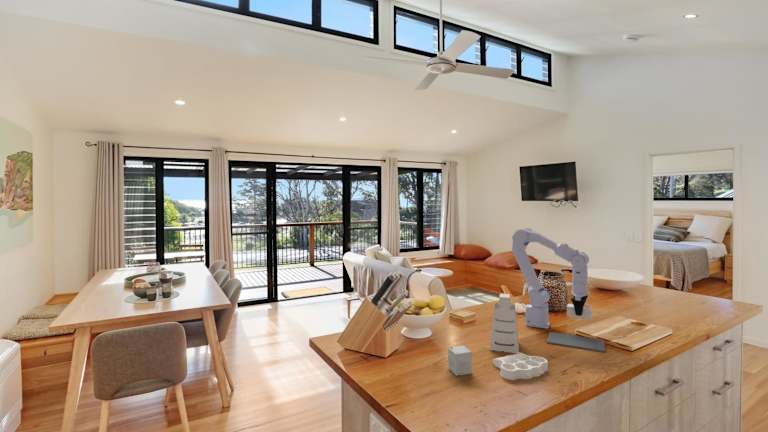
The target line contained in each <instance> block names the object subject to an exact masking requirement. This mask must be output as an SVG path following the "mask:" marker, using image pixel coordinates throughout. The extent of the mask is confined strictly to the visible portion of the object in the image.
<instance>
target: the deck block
mask: <svg viewBox="0 0 768 432" xmlns="http://www.w3.org/2000/svg"><path fill="white" fill-rule="evenodd" d="M592 316H593V306H590V305H584V307H583V312H582V315H581V316H578V315H576V314H575V309H574V305H573V303H568V304H567V305H566V318H571V319H572V318H573V319H579V320H586V321H591V320H592V319H593V317H592Z"/></svg>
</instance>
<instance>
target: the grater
mask: <svg viewBox="0 0 768 432" xmlns="http://www.w3.org/2000/svg"><path fill="white" fill-rule="evenodd" d="M510 299H511V294H510V293H499V299H498V301H499V302H498V303H497V302H496V303H495V304H494V307H493V315H492V316H493V317H492V326H491V334H490V343H489V344H490V345H489V351H493V350H495V351H494V352H501V351H504V352H503V353H510V352H511V353H513V354H517V353H520V346H519V344H520V342H519V341H520V340H519V331H518V323H517V314H516V313H517V311H516V306H515V304H512V303H511V300H510ZM510 303H511V304H510ZM499 344H501V345H499ZM509 345H510V346H509ZM511 345H512V346H511ZM511 353H510V354H511Z"/></svg>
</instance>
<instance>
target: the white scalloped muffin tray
mask: <svg viewBox="0 0 768 432" xmlns="http://www.w3.org/2000/svg"><path fill="white" fill-rule="evenodd" d="M548 363H549V361H548V360H547V358H545V357H543V356H539V355H527V354H525V353H523V352H519V353H513V354H510V355H505V356H501V357H496V358H493V359H492V364H493V365H494V366H495V367H496V368H497V367H498V368H497V369H500V376H501V377H502V378H504V379H506V380H510V381H516V380H519V379H520V380H530V379H532V378H535V377H536V378H537V377H540V376H542V375H543V374H545V373H546V372H548V368H549V366H548V365H549V364H548Z"/></svg>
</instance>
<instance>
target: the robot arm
mask: <svg viewBox="0 0 768 432" xmlns="http://www.w3.org/2000/svg"><path fill="white" fill-rule="evenodd" d="M511 239H512V245H511V246H512V247H511V248H512V250H511V251H512V254H513V255H514V258H515V261H516V263H517V264H518V267H519V269H520V271H521V274H522V276H523V278H524V280H525V282H526V284H527V287H528V288H527V292H528V296H529V297H528V299H529V303H530V304H528V303H527V304H526V305H525V324H524V325H525V326H526V327H532V328H541V329H547V330H548V329H549V328H550V324H551V322H549V301H550V299H551V295H550V293H549V291H548V290H547V289H546V288H545V285H543V284H542V283H541V282H540V280H539V278H538V276H537V273H536V271H535V269H534V266H533V265H532V263H531V260H530V258H529V255H528V254H527V252H526V249H527V247H528V245H529V244H530V243H538V244H540V245H542V246H544V247H546V248H548V249H550V250H552V251H553V252H554V254H555V255H556V256H557V257H559V258H561V259H563V260H565V261H566V262H569V263H570V264H571V265H572V270H571V271H572V272H571V273H572V274H571V276H572V277H571V294H572V297H571V298H570V300H571V304H573V305H574V309H575V314H576V315H578V316H581V315H582V312H583V307H584V306H585V303H586V302H587V299H588V297H589V296H591V292H588V272H589V271H588V264H589V262H590V258H589V256H588V254H586V253H585V252H584V251H580V250H579V249H575V248H573V247H570V246H569V244H568V243H563V242H561V243H558V242H555V241H554V240H552V239H550V238H548V237H546V236H545V235H543V234H542V233H540V232H538V231H537V230H533V229H532V228H529V227H525V228H523V229H522V228H521V229H517V230H515V231H514V233H513V235H512V237H511Z"/></svg>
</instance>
